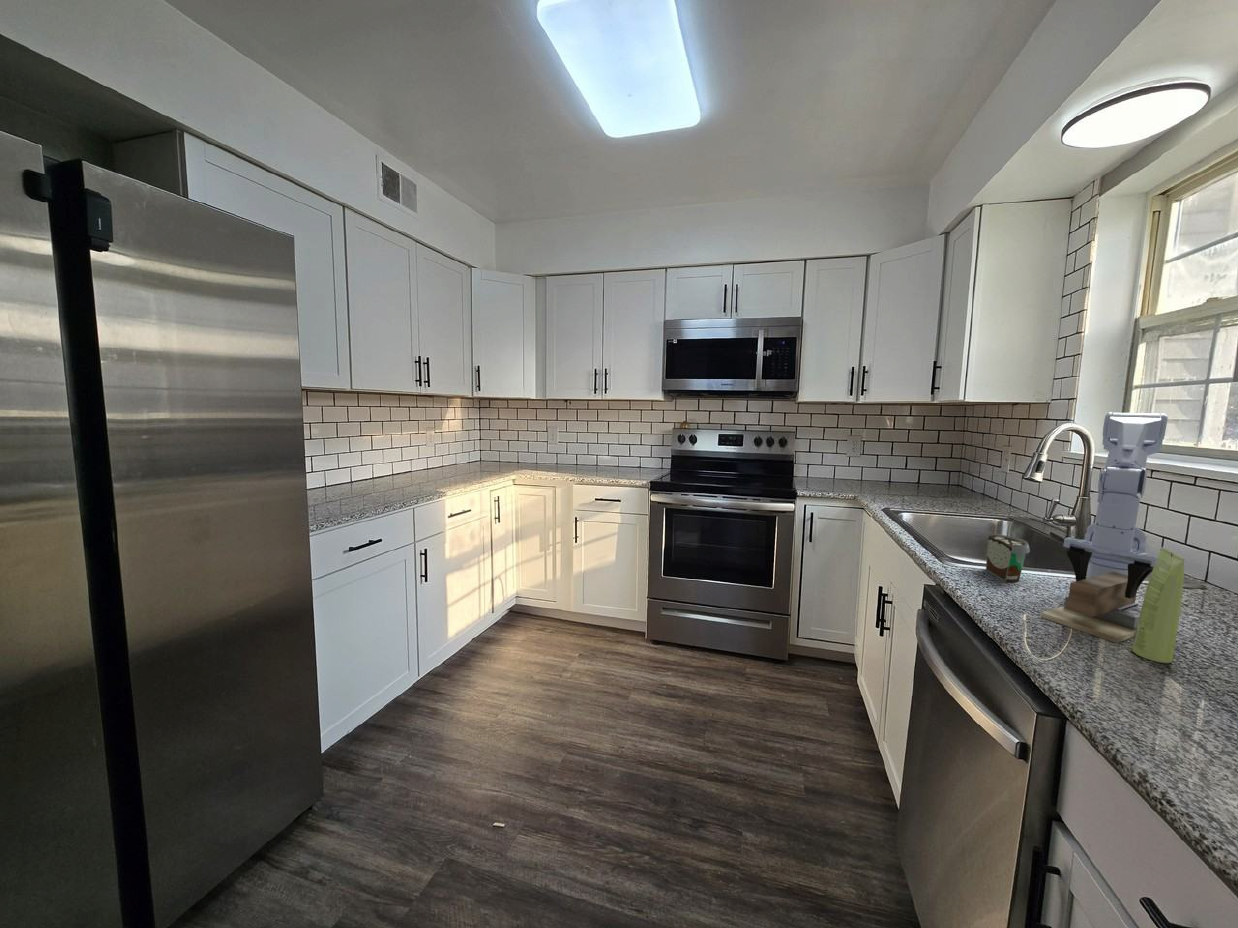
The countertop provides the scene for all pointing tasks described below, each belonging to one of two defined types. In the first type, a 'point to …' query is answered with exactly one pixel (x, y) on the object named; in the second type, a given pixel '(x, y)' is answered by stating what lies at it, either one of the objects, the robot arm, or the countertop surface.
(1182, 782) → the countertop surface
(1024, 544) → the food container
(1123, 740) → the countertop surface
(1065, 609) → the balance stand
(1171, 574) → the tube
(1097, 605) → the walnut bar
